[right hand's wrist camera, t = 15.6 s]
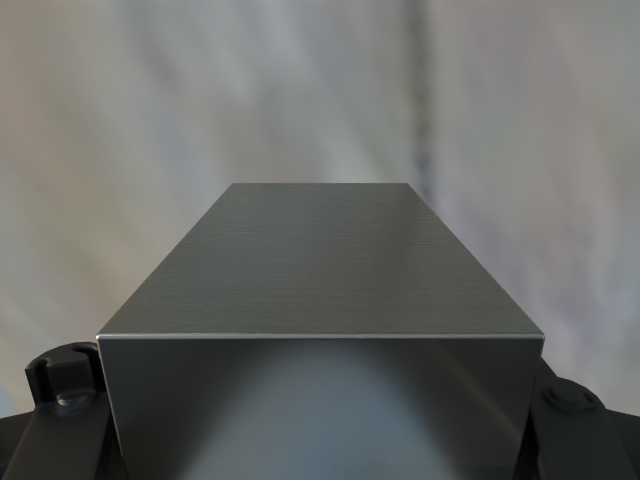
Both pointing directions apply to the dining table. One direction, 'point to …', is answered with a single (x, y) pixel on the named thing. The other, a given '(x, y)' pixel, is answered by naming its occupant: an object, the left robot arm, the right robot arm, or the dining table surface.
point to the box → (320, 346)
